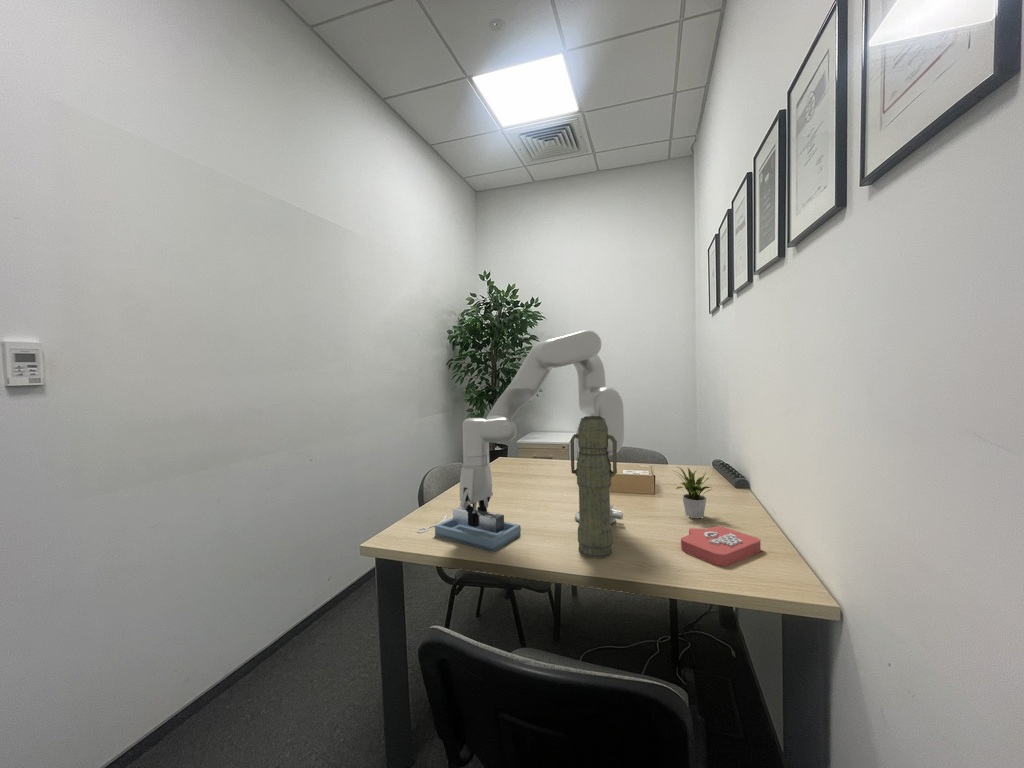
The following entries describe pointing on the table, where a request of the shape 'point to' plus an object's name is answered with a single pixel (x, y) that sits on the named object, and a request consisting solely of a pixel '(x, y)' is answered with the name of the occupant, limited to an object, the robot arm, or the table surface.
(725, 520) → the table surface
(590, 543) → the thermos
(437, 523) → the scissors
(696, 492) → the house plant
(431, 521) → the table surface
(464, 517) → the two-tone rectangular block
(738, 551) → the plaque
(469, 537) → the tray
